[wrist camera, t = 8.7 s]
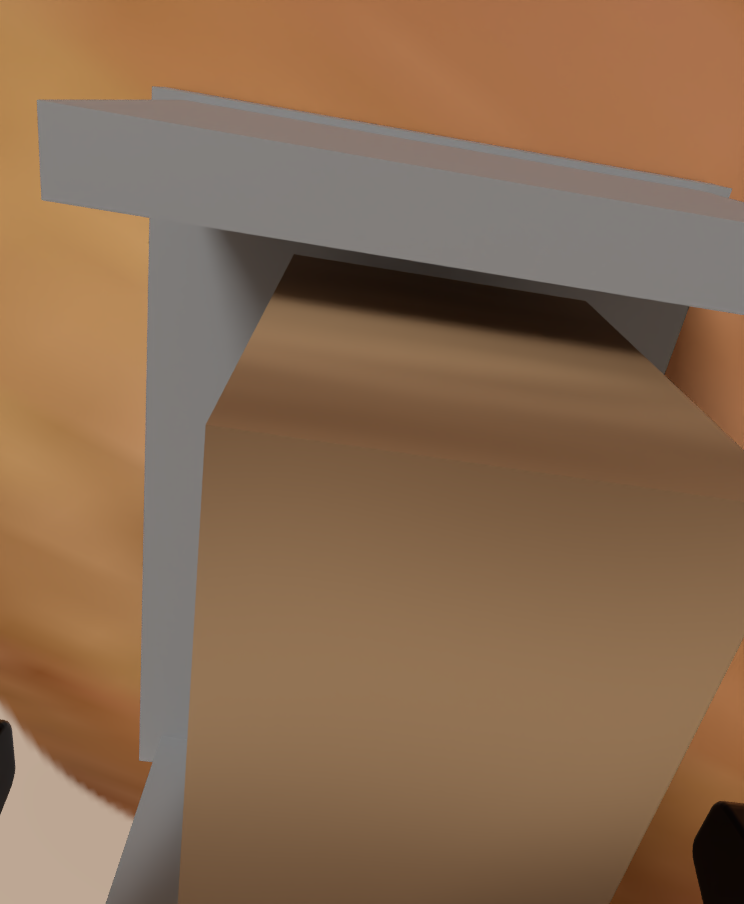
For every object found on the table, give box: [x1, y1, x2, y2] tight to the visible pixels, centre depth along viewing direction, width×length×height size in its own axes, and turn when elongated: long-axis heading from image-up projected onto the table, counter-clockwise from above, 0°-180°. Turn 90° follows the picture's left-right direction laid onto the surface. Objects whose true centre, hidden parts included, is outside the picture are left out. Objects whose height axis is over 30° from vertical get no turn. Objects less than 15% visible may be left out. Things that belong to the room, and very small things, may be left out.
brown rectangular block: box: [178, 254, 744, 904], centre depth 9 cm, size 11×4×6 cm, turn 171°
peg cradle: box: [37, 86, 744, 904], centre depth 12 cm, size 14×9×6 cm, turn 171°
